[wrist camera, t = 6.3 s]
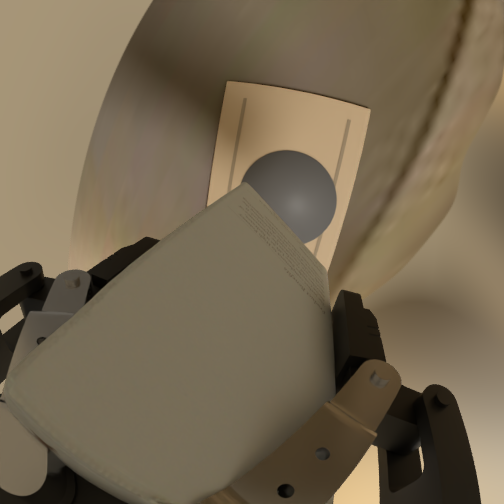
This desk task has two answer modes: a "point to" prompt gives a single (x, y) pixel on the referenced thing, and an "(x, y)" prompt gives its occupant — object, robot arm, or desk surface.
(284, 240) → the skincare box
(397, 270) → the desk surface
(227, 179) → the beige flat board
